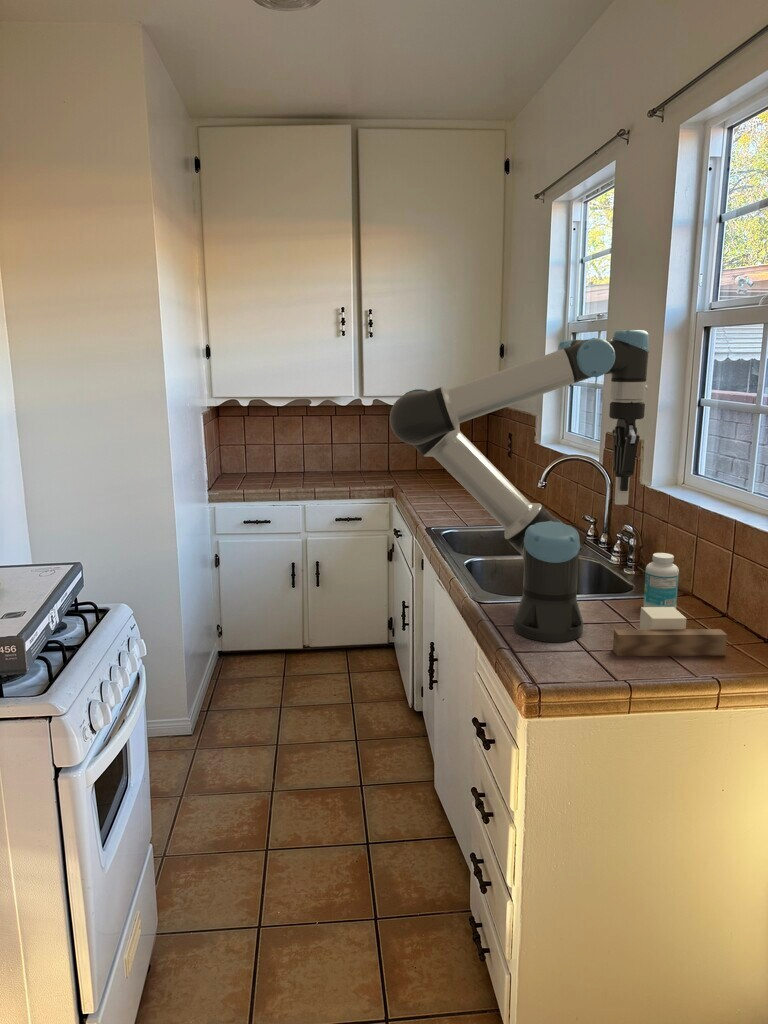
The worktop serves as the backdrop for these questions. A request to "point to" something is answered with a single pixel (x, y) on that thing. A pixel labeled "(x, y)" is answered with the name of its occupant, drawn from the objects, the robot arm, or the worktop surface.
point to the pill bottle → (661, 582)
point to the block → (661, 618)
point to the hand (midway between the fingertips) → (621, 503)
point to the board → (669, 642)
